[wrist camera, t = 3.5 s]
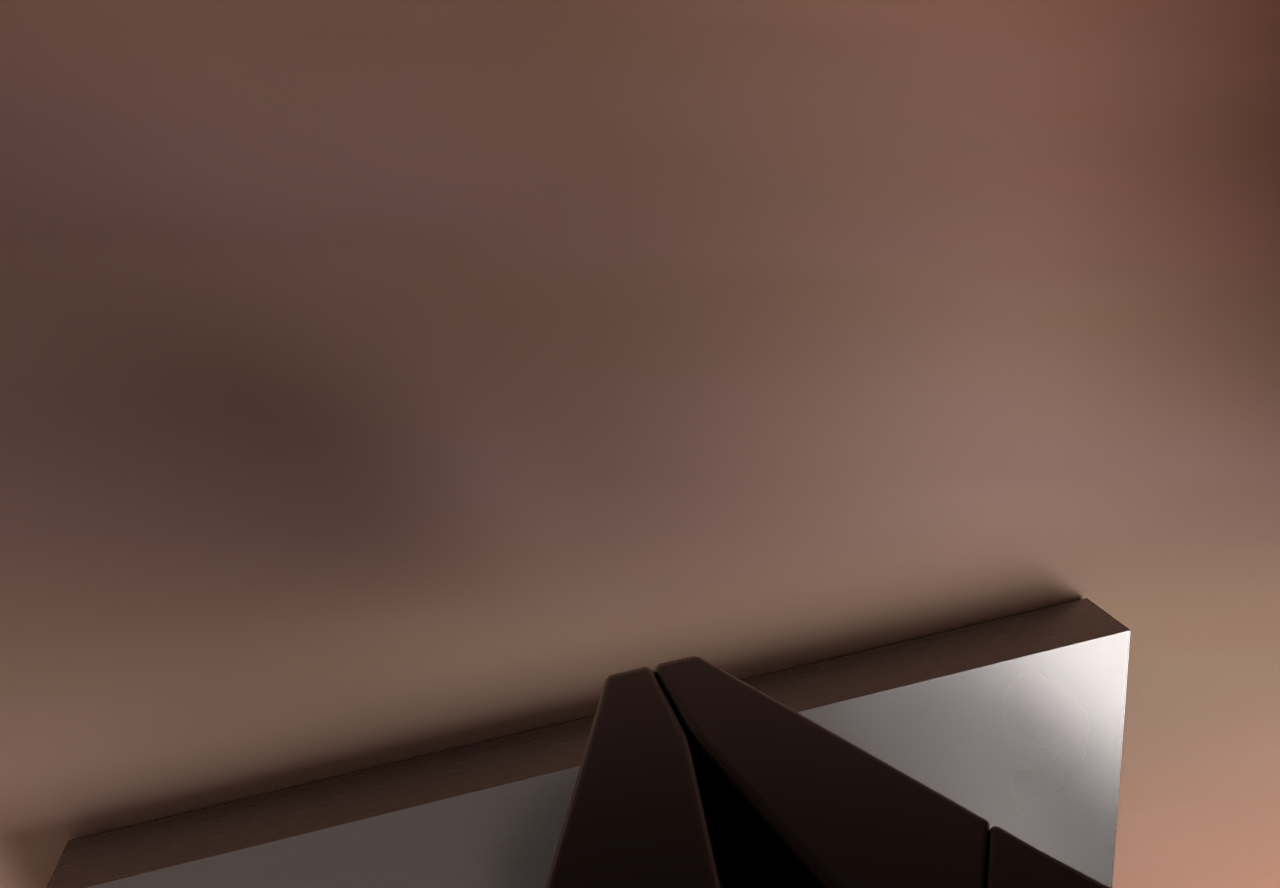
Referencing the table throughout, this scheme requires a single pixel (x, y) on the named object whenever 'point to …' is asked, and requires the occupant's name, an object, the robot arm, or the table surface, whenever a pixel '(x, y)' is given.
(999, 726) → the metal cylinder assembly
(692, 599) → the table surface
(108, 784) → the table surface
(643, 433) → the table surface
